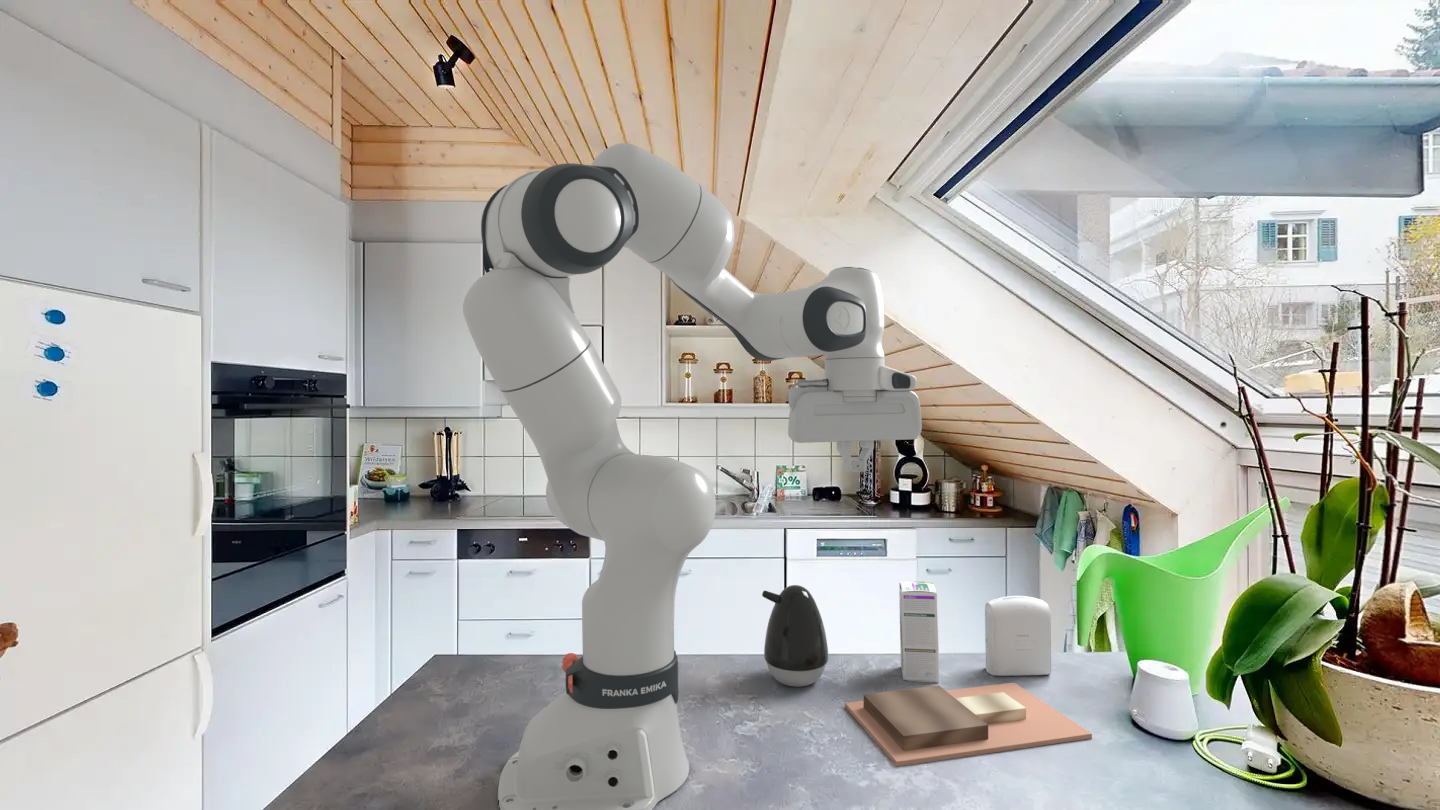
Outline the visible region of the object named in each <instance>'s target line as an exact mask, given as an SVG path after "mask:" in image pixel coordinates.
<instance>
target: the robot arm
mask: <svg viewBox="0 0 1440 810" xmlns="http://www.w3.org/2000/svg"><path fill="white" fill-rule="evenodd" d="M481 214H482V215H481V220H480V234H481V242H482V258H483V261H482V262H483V269H484V271H485V274H483V275H482V276H481V277H479V278H478V279H477V280H476V281H475V282H474V283H473V284H472V285H471V286H470V288H469V289H468V290H467V293H466V294H465V296H464V299H463V304H462V311H463V313H462V314H463V318H464V321H465V322H466V326H467V328H468V331H469V333H470V335H471V338H472V340H473V342H474V344H475V346H476V349H477V350H478V353H479V355H480V357H481V360H482V361H483V363H484V365H485V366H486V368H487V371H489V374H490V376H491V377H492V379H493V381H494V382H495V384H496V386H497V387H498V388H499V390H500V392H501V394H502V395H503V396H504V398H505V399H506V401H507V403H508V404H509V406H510V407H511V409H512V410H513V412H514V414H515V416H516V417H517V418H518V420H519V421H520V423H521V425H522V426H523V428H524V429H525V432H526V433H527V435H528V436H529V439H531V441H532V442H533V445H534V447H535V449H536V451H537V454H538V456H539V457H540V460H541V463H542V467H543V469H544V471H545V475H546V478H547V483H546V487H545V488H546V489H545V494H546V495H545V497H546V499H545V500H546V502H547V503H546V504H547V507H548V509H549V511H550V514H552V515H553V517H554V518H555V519H556V520H558V521H559V522H560V523H562V524H563V525H564V526H565V527H567V528H568V529H570V531H571V530H572V531H573V532H575V533H577V534H578V535H580V536H585V537H588V538H591V539H594V540H595V539H596V540H599V541H603V542H604V545H605V550H604V551H605V552H604V557H603V558H604V559H603V563H602V568H601V571H600V574H599V577H598V579H597V580H595V581H594V582H593V583H592V584H590V585H589V587H588V588H587V589H586V590H585V592H584V594H583V597H582V600H581V622H582V623H581V630H582V631H581V633H582V635H581V638H582V641H581V642H582V655H581V656H580V657H579V656H577V653H573V652H569V653H567V654H565V655H564V657H563V658H562V661H561V662H562V663H561V664H562V667H561V668H562V670H563V672H564V673H565V679H564V680H565V691H563V692H562V693H561V694H560V695H558V697H556V698H555V699H554V700H552V702H550V703H549V704H548V705H546V706H545V707H544V708H543V709H541V710H540V711H539V712H538V713H536V714H535V715H534V716H533V717H532V718H531V719H530V721H529V722H528V724H527V727H526V728H525V730H524V733H523V735H522V738H521V741H520V746H519V750H518V751H517V752H515V753H514V754H513V755H512V756H510V758H509V759H508V760H507V762H506V763H505V765H504V767H503V768H502V771H501V773H500V776H499V780H498V781H499V782H498V789H497V801H498V800H499V804H500V806H501V808H502V809H503V810H653V809H654V808H655V806H656V805H657V804H658V803H659V802H660V801H661V800H664V799H665V798H666V797H668V796H670V795H671V794H673V793H674V792H675V791H677V790H679V789H680V788H681V786H682V785H683V784H684V782H685V781H686V780H687V778H688V775H689V772H690V761H689V759H688V756H687V754H686V750H685V746H684V742H683V738H682V732H681V727H680V719H679V713H678V702H679V693H680V663H679V659H678V656H677V653H676V652H677V651H676V650H675V603H676V599H675V598H676V592H677V588H678V587H677V585H678V582H679V579H680V576H681V572H682V568H683V566H684V564H685V561H686V560H687V558H688V556H689V555H690V553H691V552H693V550H694V549H696V548H697V547H698V546H699V545H700V544H701V543H703V542H704V540H705V539H706V537H707V536H708V535H709V533H710V530H711V529H712V526H713V523H714V521H715V519H716V518H715V517H716V511H717V500H716V499H717V498H716V494H715V489H714V487H713V484H712V482H711V481H710V479H709V478H708V476H707V475H706V474H705V473H704V472H703V471H701V470H699V469H698V468H696V467H693V466H691V465H689V464H687V463H685V462H683V461H679V460H678V459H674V458H671V457H669V456H660V455H648V454H638V453H634V452H633V451H631V449H629V448H628V447H627V446H626V444H624V442H623V440H622V438H621V435H620V431H619V428H618V424H617V418H618V416H619V415H620V412H621V409H622V396H621V394H620V391H619V390H618V388H617V386H616V384H615V382H614V380H613V379H612V376H611V375H610V373H609V371H608V370H607V368H606V366H605V365H604V362H603V360H602V359H601V358H600V356H599V354H598V352H597V350H596V348H595V346H594V345H593V343H592V341H591V339H590V338H589V335H588V334H587V333H586V330H585V329H584V327H583V326H582V324H581V323H580V322H579V320H578V318H577V316H576V315H575V310H574V308H573V305H572V300H571V295H570V282H571V278H570V277H572V276H576V275H584V274H590V273H592V272H595V271H597V270H600V269H601V268H603V267H604V266H605V265H607V264H608V263H610V262H611V261H612V260H614V258H615V257H616V256H617V255H618V254H619V253H620V251H621V250H622V249H623V248H626V249H628V250H630V251H631V252H632V253H634V254H635V255H637V256H638V257H639V258H641V259H643V260H644V261H645V262H646V263H649V265H652V266H653V267H654V268H656V269H658V270H659V271H661V272H662V273H663V274H664V275H666V276H667V277H668V278H669V279H670V280H671V281H672V282H673V284H674V285H675V286H676V287H677V288H678V289H679V290H680V291H681V292H682V293H683V294H685V295H686V296H687V297H688V298H689V299H691V300H692V301H694V302H695V303H696V304H697V305H699V306H700V307H701V308H702V309H704V310H705V311H706V312H707V313H709V314H710V315H711V316H713V317H714V319H717V320H718V321H719V322H720V323H722V324H723V325H724V326H726V327H727V328H728V329H729V331H730V332H731V333H732V334H733V335H734V336H735V338H736V339H737V340H738V342H739V344H741V346H742V348H743V349H744V350H745V351H746V352H747V353H748V355H750V356H751V357H753V358H754V359H756V360H759V361H762V362H773V361H777V360H782V359H787V358H799V357H800V358H802V357H803V358H804V357H812V356H823V355H824V379H821V378H819V379H808V380H807V379H798V380H797V382H795V383H793V384H792V385H791V386H790V387H789V389H788V393H787V396H788V400H787V401H788V405H789V408H790V409H789V414H788V415H789V416H788V427H787V429H788V430H787V433H788V434H787V435H788V437H789V438H790V440H791V441H792V442H793V443H798V444H805V443H807V444H808V443H809V444H810V443H811V444H813V443H836V450H837V451H838V453H839V454H840V456H841V458H842V459H843V468H844V469H843V470H844V472H846V473H856V472H867V470H868V460H869V458H870V456H871V455H872V453H873V450H874V449H875V441H896V440H897V441H901V440H904V441H905V440H917V439H918V438H919V437H920V435H921V433H922V428H923V426H922V424H923V423H922V420H923V419H922V409H921V402H920V398H919V396H918V395H917V394H916V393H915V392H914V390H916V388H917V384H918V382H917V380H918V379H917V377H916V376H914V375H912V374H909V373H906V372H903V371H900V370H898V369H894V368H892V367H889V366H887V365H886V362H885V361H886V356H885V352H884V348H883V337H884V333H885V307H884V306H885V305H884V295H883V291H882V290H883V289H882V285H881V281H880V279H879V276H878V275H877V274H876V273H875V272H873V271H871V270H870V269H867V268H862V267H855V266H854V267H853V266H842V267H838V268H834V269H832V270H831V271H830V272H829V273H828V276H826V277H825V278H824V279H822V280H821V281H819V282H817V283H814V284H812V285H809V286H807V287H804V288H798V289H795V290H789V291H784V292H779V293H759V292H755V291H752V290H750V289H749V288H748V287H747V286H746V285H745V284H744V283H742V282H741V281H740V280H739V279H738V278H737V277H736V276H734V275H733V274H732V273H731V272H730V271H728V270H727V269H726V265H727V264H728V261H730V260H729V259H730V257H731V255H732V251H733V248H734V244H735V234H736V232H735V225H734V219H733V216H732V214H731V212H730V211H729V210H728V209H727V207H726V206H725V204H724V203H723V201H721V200H720V199H719V198H718V197H716V195H714V194H713V192H711V191H709V190H708V189H707V188H705V187H704V186H703V185H702V184H700V183H699V182H698V181H697V180H695V179H693V178H692V177H691V176H690V175H688V174H687V173H685V172H684V171H682V170H681V169H679V168H678V167H677V166H675V165H673V164H672V163H670V162H669V161H666V160H665V159H663V158H662V157H659V156H658V155H655V154H654V153H653V152H650V151H648V150H646V149H644V148H642V147H639V146H638V145H635V144H632V143H629V142H627V143H626V142H621V143H616V144H613V145H611V146H608V148H606V149H604V150H603V151H602V152H600V153H599V154H598V155H597V156H596V158H594V159H593V161H592V163H591V164H581V163H573V162H572V163H569V162H568V163H559V164H554V165H552V166H549V167H547V168H545V169H542V170H535V171H530V172H526V173H524V174H522V175H520V176H518V177H517V178H515V179H513V180H512V181H511V182H509V183H508V184H506V185H503V186H502V187H500V188H499V189H497V190H496V191H495V192H494V193H493V194H492V195H491V196H490V198H489V199H488V201H487V202H486V204H485V206H484V209H483V212H482V213H481ZM490 269H491V270H490ZM852 442H859V448H862V449H861V451H860V454H859V455H858V458H852V456H851V453H850V452H849V449H850V450H851V449H852ZM515 762H517V764H513V763H515ZM509 801H513V802H511V803H507V802H509Z"/></svg>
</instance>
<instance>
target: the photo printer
mask: <svg viewBox="0 0 1440 810" xmlns="http://www.w3.org/2000/svg"><path fill="white" fill-rule="evenodd" d="M1051 618H1052V617H1051V610H1050V606H1049V604H1048V603H1047V602H1046V601H1044V600H1043V599H1039V598H1037V597H1033V596H1026V595H1025V596H1024V595H1008V596H1001V597H999V598H994V599H992V600H989V601H987V602H986V603H985V606H984V630H985V631H984V633H985V634H984V638H985V639H984V640H985V641H984V643H985V671H986V672H987V673H988V674H989V675H991V676H1003V677H1004V676H1007V677H1009V676H1011V677H1012V676H1043V675H1046V676H1047V675H1051V674H1052V625H1051V624H1052V622H1051Z"/></svg>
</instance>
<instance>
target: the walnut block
mask: <svg viewBox="0 0 1440 810" xmlns="http://www.w3.org/2000/svg"><path fill="white" fill-rule="evenodd" d="M946 691H947V690H946V689H944V688H943V687H942V686H940V685H933V686H924V687H916V688H915V687H914V688H908V689H900V690H898V689H897V690H891V691H881V692H873V693H863V701H864V709H865V710H866V711H867V712H868V713H869V714H870V715H871V716H872V717H873V718H874V719H875V720H876V721H877V723H878V724H879V725H880V726H881V727H882V728H883V729H884V730H885V731H886V732H887V733H888V734H889V736H890V737H891V738H892V739H893V740H894V741H895V742H896V743H897V744H898V745H899V746H900V747H901V748H902V750H903V751H908V750H915V749H922V748H929V747H937V746H944V745H951V744H958V743H965V742H972V741H979V740H987V739H988V724H987V723H985V722H984V721H983V720H982V719H980V718H979V717H978V716H977V715H975V714H974V713H973V712H972V711H970V710H969V709H968V708H967V707H965V706H964V705H963V704H962V703H960V702H959V701H958V700H957V699H955V698H954V697H953V696H952V695H950V694H949V693H948V692H946Z"/></svg>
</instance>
